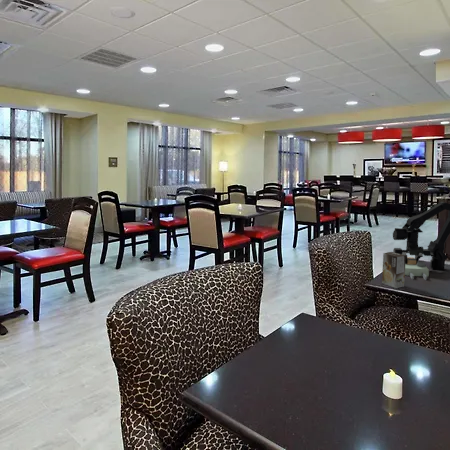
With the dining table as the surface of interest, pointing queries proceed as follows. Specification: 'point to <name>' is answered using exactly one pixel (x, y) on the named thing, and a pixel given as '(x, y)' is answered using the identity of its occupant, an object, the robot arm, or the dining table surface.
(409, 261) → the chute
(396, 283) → the coffee box
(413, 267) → the mower deck
